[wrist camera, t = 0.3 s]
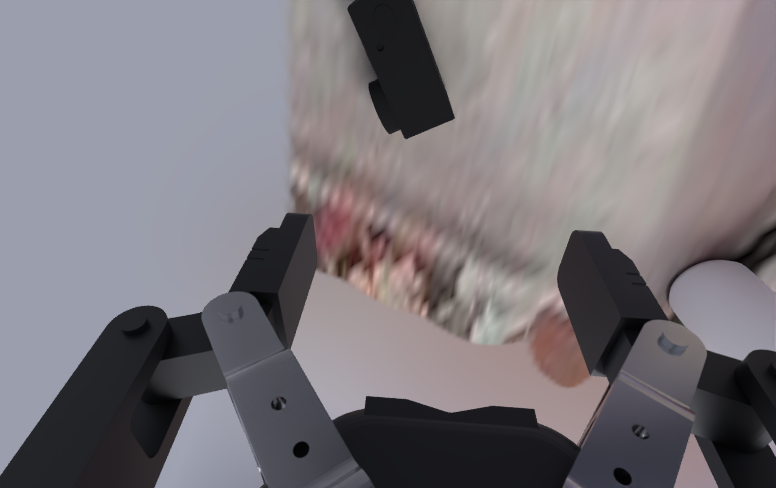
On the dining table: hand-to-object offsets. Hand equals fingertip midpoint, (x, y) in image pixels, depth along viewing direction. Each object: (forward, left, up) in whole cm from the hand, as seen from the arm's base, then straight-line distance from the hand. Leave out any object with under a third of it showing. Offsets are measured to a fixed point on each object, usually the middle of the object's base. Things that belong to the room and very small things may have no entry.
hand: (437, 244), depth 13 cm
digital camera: (-1, -2, -29) cm, 29 cm away
